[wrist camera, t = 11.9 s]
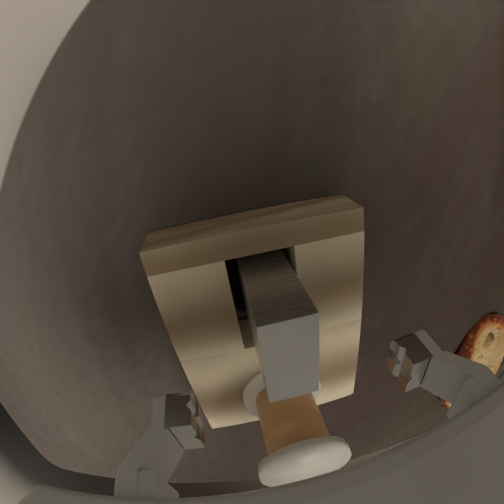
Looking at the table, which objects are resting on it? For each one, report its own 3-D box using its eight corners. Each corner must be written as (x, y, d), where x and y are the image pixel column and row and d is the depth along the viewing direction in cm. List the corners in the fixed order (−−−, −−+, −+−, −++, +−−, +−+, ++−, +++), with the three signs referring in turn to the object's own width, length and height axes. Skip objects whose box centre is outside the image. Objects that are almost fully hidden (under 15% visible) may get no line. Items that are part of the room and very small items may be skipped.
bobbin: (235, 373, 19) (252, 464, 12) (317, 354, 19) (356, 436, 13) (249, 417, 21) (265, 493, 15) (317, 400, 22) (346, 470, 15)
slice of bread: (464, 400, 37) (474, 414, 34) (403, 413, 33) (414, 432, 29) (522, 317, 31) (536, 329, 28) (479, 306, 27) (499, 323, 23)
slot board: (148, 232, 17) (138, 252, 14) (340, 194, 18) (363, 207, 15) (209, 401, 24) (212, 428, 21) (340, 370, 25) (353, 393, 22)
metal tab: (233, 246, 18) (256, 327, 11) (273, 238, 19) (319, 312, 11) (245, 311, 20) (269, 402, 13) (280, 304, 21) (318, 390, 13)
